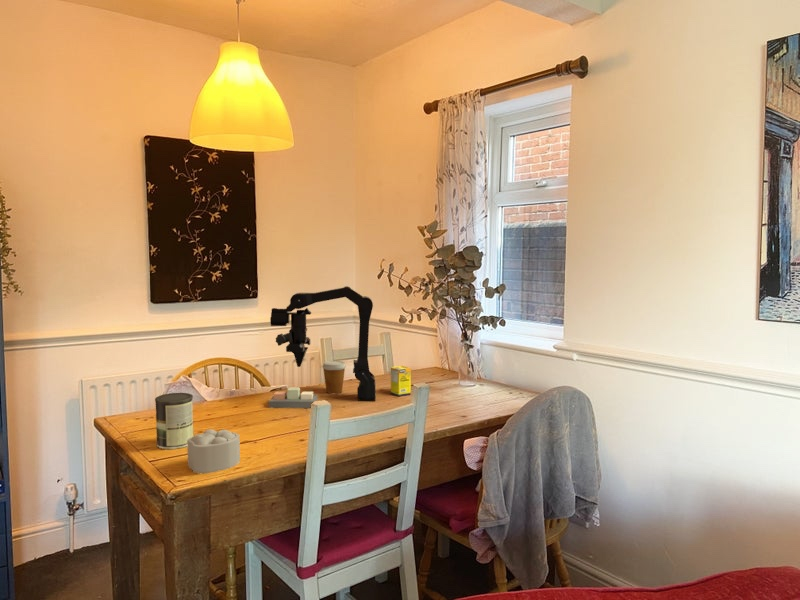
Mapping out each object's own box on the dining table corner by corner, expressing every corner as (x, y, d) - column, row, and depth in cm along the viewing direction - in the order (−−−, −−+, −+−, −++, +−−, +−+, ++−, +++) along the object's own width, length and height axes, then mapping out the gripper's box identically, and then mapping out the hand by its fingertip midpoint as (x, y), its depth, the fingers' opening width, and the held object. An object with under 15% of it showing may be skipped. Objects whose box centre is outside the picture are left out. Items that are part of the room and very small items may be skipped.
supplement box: (411, 394, 227) (411, 367, 226) (398, 396, 223) (398, 369, 222) (402, 391, 232) (402, 365, 231) (390, 393, 228) (390, 366, 227)
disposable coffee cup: (348, 393, 228) (348, 364, 227) (325, 395, 224) (325, 365, 223) (342, 388, 237) (342, 360, 236) (320, 390, 233) (319, 361, 232)
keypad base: (317, 400, 216) (317, 394, 216) (313, 408, 206) (313, 401, 206) (274, 400, 216) (274, 394, 216) (268, 407, 206) (268, 401, 206)
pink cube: (286, 402, 213) (286, 391, 213) (284, 404, 209) (284, 394, 209) (276, 401, 213) (276, 391, 213) (273, 404, 209) (273, 394, 209)
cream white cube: (313, 402, 213) (313, 391, 213) (311, 405, 209) (311, 394, 209) (302, 402, 213) (302, 391, 213) (300, 404, 209) (300, 394, 209)
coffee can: (149, 448, 163) (147, 400, 162) (167, 437, 173) (166, 392, 172) (183, 450, 162) (182, 402, 161) (199, 438, 172) (198, 393, 171)
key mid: (300, 397, 213) (299, 387, 213) (298, 400, 209) (298, 390, 209) (289, 397, 213) (289, 387, 213) (287, 400, 209) (287, 389, 209)
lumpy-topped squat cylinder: (185, 463, 152) (184, 432, 151) (232, 453, 160) (232, 423, 159) (196, 476, 144) (196, 442, 143) (246, 465, 151) (245, 433, 150)
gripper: (282, 322, 224) (282, 361, 225) (272, 329, 206) (272, 371, 207) (310, 323, 224) (310, 362, 226) (302, 329, 206) (302, 371, 207)
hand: (298, 366), depth 216 cm, fingers closed
